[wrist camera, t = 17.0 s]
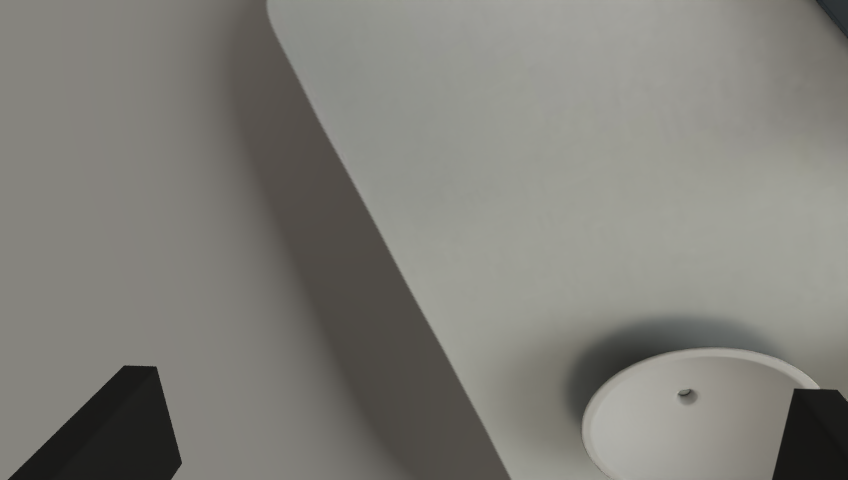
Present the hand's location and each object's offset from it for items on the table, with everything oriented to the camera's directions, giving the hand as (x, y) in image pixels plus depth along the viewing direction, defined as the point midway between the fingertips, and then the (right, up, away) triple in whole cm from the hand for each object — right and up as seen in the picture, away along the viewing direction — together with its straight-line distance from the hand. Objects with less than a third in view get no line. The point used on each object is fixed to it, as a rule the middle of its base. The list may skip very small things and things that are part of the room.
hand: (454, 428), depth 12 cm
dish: (+21, -8, +35) cm, 42 cm away
